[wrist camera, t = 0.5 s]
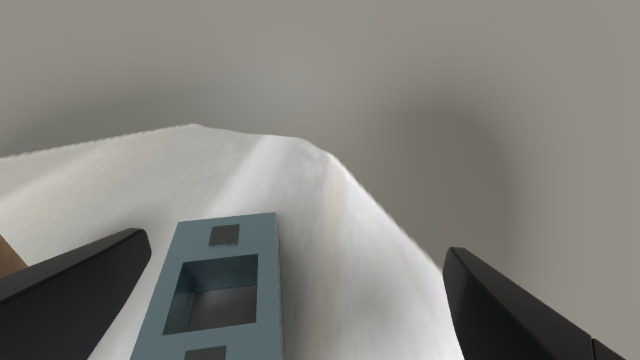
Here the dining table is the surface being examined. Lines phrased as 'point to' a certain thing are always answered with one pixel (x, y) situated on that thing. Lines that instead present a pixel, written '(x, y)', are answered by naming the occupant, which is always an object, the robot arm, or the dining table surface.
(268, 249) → the socket block
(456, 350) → the dining table surface
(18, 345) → the robot arm
